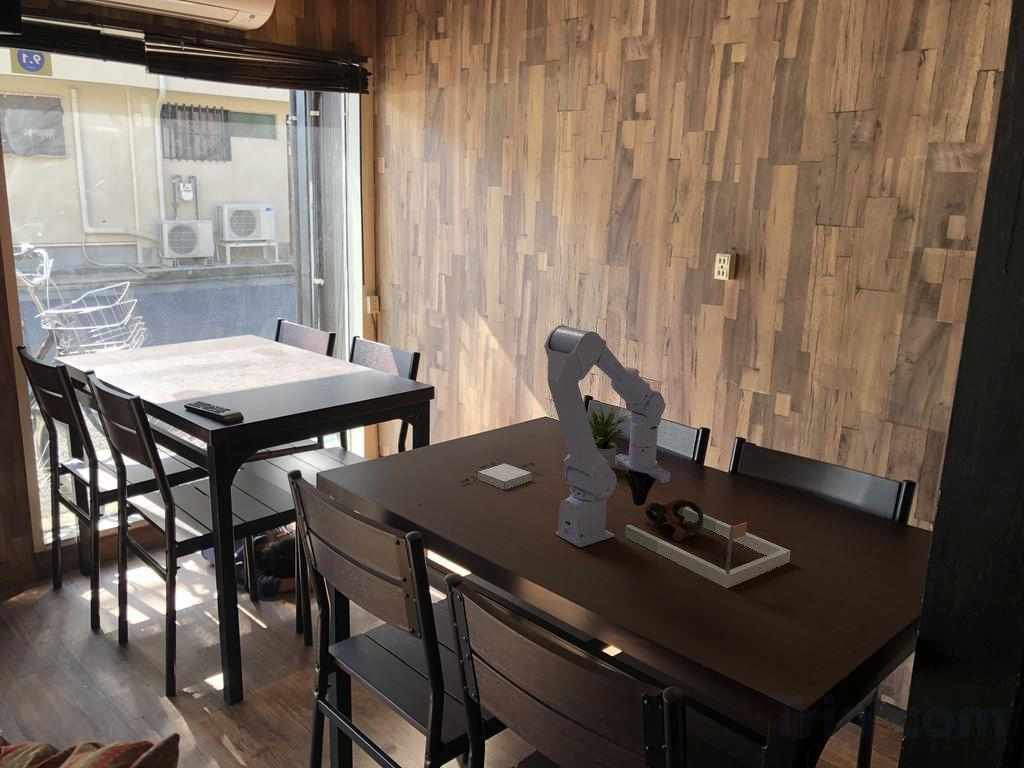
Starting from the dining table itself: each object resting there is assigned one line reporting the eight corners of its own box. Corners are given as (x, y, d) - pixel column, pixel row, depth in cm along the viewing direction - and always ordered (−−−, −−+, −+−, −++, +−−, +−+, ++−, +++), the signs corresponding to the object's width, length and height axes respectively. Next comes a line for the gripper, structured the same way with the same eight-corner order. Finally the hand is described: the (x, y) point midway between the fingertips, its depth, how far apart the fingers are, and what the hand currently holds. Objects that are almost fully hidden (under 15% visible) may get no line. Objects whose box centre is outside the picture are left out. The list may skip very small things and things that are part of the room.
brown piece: (695, 525, 173) (708, 501, 167) (691, 559, 166) (705, 536, 160) (641, 508, 173) (653, 483, 168) (636, 541, 166) (648, 517, 161)
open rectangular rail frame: (726, 588, 144) (732, 528, 141) (624, 537, 165) (628, 484, 162) (789, 562, 155) (795, 506, 152) (686, 517, 175) (690, 467, 172)
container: (488, 497, 186) (488, 486, 185) (455, 484, 193) (455, 473, 193) (546, 477, 200) (547, 467, 199) (513, 465, 207) (514, 456, 207)
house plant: (629, 482, 196) (632, 417, 192) (572, 476, 199) (575, 413, 195) (632, 463, 210) (636, 403, 206) (579, 458, 212) (582, 399, 209)
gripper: (681, 449, 167) (677, 510, 170) (632, 432, 178) (628, 490, 181) (658, 455, 163) (653, 518, 166) (609, 437, 174) (605, 496, 177)
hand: (639, 504), depth 173 cm, fingers closed
